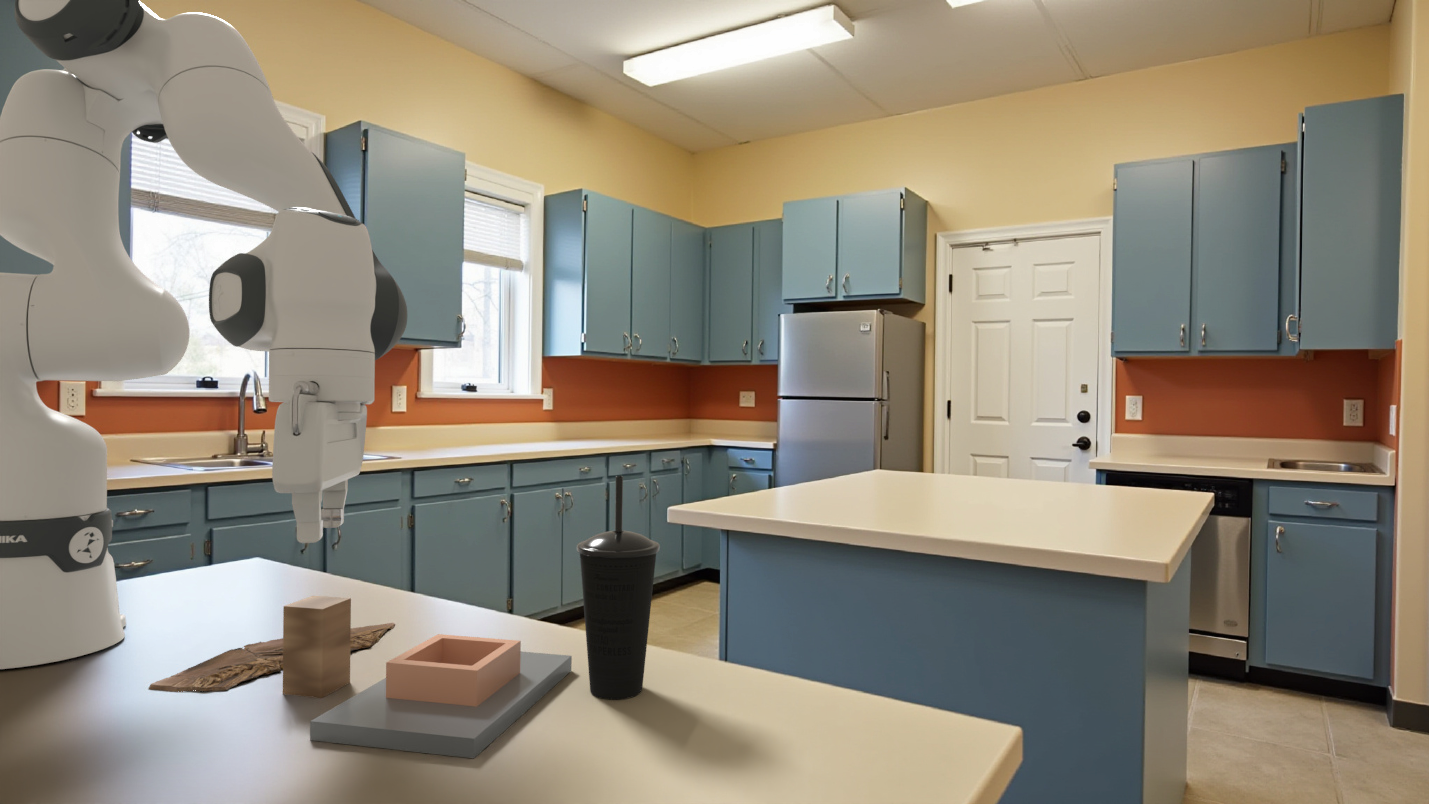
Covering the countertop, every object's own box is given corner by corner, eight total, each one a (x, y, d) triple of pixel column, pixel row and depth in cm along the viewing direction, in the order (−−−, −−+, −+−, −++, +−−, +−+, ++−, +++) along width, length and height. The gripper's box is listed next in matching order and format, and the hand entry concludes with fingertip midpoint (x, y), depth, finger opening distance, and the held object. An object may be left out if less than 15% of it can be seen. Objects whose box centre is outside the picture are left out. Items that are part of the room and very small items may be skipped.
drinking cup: (596, 712, 71) (599, 482, 71) (561, 685, 77) (564, 474, 77) (672, 695, 75) (675, 478, 75) (633, 671, 82) (636, 470, 81)
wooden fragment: (178, 707, 71) (178, 694, 71) (126, 681, 78) (126, 670, 78) (429, 637, 93) (430, 627, 93) (373, 621, 99) (373, 612, 99)
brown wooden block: (282, 694, 74) (283, 606, 74) (312, 679, 78) (313, 595, 78) (321, 698, 73) (322, 609, 73) (350, 682, 77) (350, 598, 77)
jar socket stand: (310, 740, 65) (310, 683, 64) (442, 659, 84) (443, 615, 84) (473, 758, 62) (474, 699, 62) (571, 670, 81) (572, 625, 81)
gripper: (337, 379, 66) (336, 551, 66) (376, 387, 86) (375, 519, 86) (251, 379, 65) (249, 554, 65) (310, 386, 85) (309, 520, 84)
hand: (321, 533), depth 75 cm, fingers open, 8 cm apart
